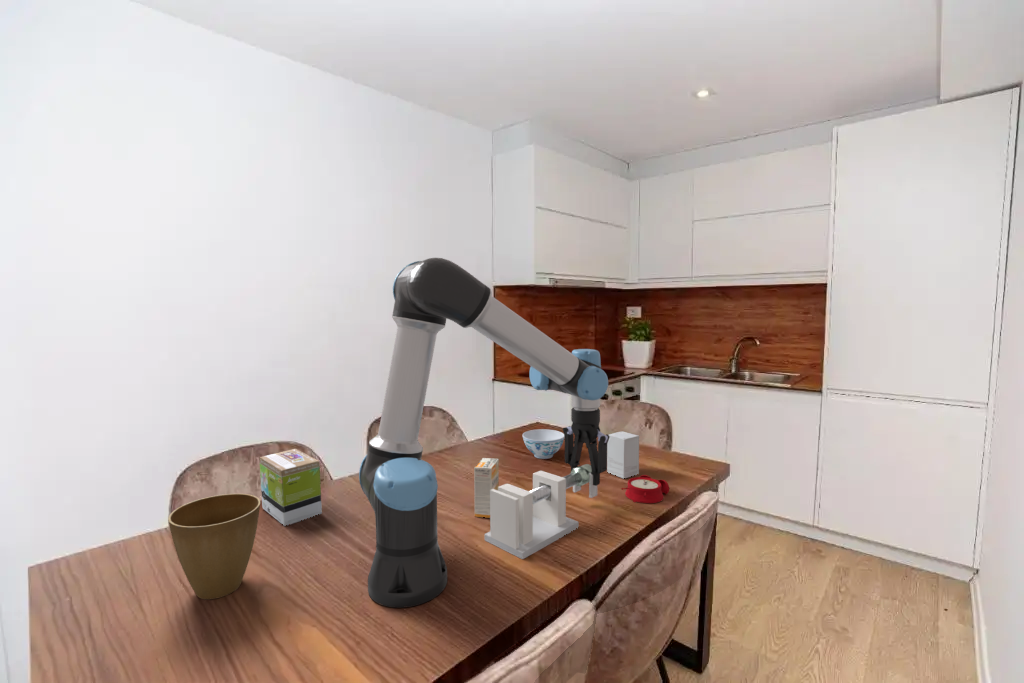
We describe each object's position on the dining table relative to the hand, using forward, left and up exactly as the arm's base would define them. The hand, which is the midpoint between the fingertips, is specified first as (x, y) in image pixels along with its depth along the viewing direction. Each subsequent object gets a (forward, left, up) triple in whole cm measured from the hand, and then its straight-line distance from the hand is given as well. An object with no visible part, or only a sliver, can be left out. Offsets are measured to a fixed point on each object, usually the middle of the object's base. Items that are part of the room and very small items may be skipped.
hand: (585, 493), depth 128 cm
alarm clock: (+19, -8, -4) cm, 21 cm away
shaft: (-10, 0, +3) cm, 10 cm away
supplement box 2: (+29, +6, -4) cm, 30 cm away
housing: (-21, 0, -4) cm, 21 cm away
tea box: (-56, +54, -4) cm, 78 cm away
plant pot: (-79, +29, -4) cm, 84 cm away
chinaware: (+25, +36, -4) cm, 44 cm away
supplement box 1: (-20, +17, -4) cm, 27 cm away
